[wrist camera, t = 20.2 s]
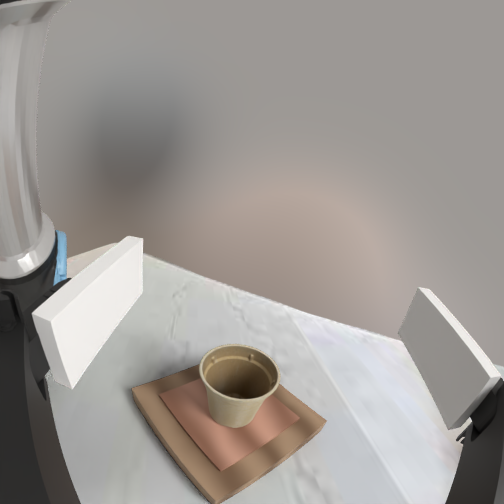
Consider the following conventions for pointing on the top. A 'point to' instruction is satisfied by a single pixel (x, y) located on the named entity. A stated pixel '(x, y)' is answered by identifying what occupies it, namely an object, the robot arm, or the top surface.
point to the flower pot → (237, 382)
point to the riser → (223, 433)
